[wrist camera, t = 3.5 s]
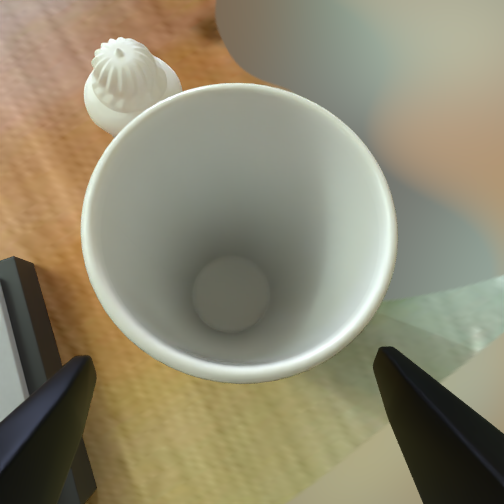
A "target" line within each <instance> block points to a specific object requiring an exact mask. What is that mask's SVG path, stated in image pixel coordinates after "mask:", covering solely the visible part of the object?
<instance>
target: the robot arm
mask: <svg viewBox="0 0 504 504" xmlns="http://www.w3.org/2000/svg"><path fill="white" fill-rule="evenodd" d="M373 370H374V374H375V377H376V380H377V384H378V387H379V390H380V394H381V397H382V400H383V404H384V407H385V410H386V413H387V416H388V419H389V422H390V424H391V427H392V429H393V431H394V434H395V436H396V439H397V441H398V444H399V446H400V448H401V451H402V453H403V455H404V458H405V460H406V463H407V465H408V468H409V470H410V473H411V475H412V477H413V480H414V482H415V485H416V487H417V489H418V492H419V494H420V497H421V499H422V502H423V504H504V434H503V433H502V432H500V430H498V429H497V428H496V427H494V426H493V425H492V424H491V423H489V422H488V421H487V420H486V419H484V418H483V417H482V416H481V415H479V414H478V413H477V412H475V411H474V410H473V409H472V408H470V407H469V406H468V405H466V404H465V403H464V402H463V401H461V400H460V399H459V398H458V397H456V396H455V395H454V394H452V393H451V392H450V391H449V390H447V389H446V388H445V387H444V386H442V385H441V384H440V383H439V382H437V381H436V380H435V379H434V378H432V377H431V376H430V375H428V374H427V373H426V372H425V371H423V370H422V369H421V368H420V367H418V366H417V365H416V364H414V363H413V362H412V361H411V360H409V359H408V358H407V357H406V356H404V355H403V354H402V353H401V352H399V351H398V350H397V349H395V348H394V347H390V346H389V347H380V348H379V349H378V352H377V355H376V358H375V360H374V363H373ZM95 383H96V371H95V367H94V364H93V361H92V358H91V357H90V356H88V355H83V356H75V357H73V358H72V359H71V360H70V361H69V362H67V363H66V364H65V365H64V366H63V367H62V368H61V369H60V370H58V371H57V372H56V373H55V374H54V375H53V376H52V377H51V378H49V379H48V380H47V381H46V382H45V383H44V384H43V385H41V386H40V387H39V388H38V389H37V390H36V391H35V392H34V393H32V394H31V395H30V396H29V397H28V398H27V399H26V400H25V401H23V402H22V403H21V404H20V405H19V406H18V407H17V408H15V409H14V410H13V411H12V412H11V413H10V414H9V415H8V416H6V417H5V418H4V419H3V420H2V421H1V422H0V504H57V503H58V500H59V497H60V494H61V492H62V489H63V486H64V484H65V481H66V478H67V475H68V473H69V470H70V467H71V464H72V462H73V459H74V456H75V454H76V451H77V448H78V445H79V443H80V440H81V437H82V434H83V430H84V427H85V423H86V419H87V415H88V411H89V407H90V403H91V399H92V395H93V391H94V387H95Z"/></svg>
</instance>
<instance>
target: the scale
mask: <svg viewBox="0 0 504 504" xmlns="http://www.w3.org/2000/svg"><path fill="white" fill-rule="evenodd" d="M61 368H62V363H61V360H60V356H59V353H58V349H57V346H56V342H55V338H54V335H53V331H52V328H51V324H50V321H49V317H48V314H47V310H46V307H45V303H44V299H43V296H42V292H41V289H40V285H39V282H38V278H37V275H36V271H35V268H34V264H33V263H31V262H28V261H25V260H23V259H20V258H17V257H15V256H13V257H10V258H7V259H4V260H1V261H0V422H1V421H2V420H3V419H4V418H5V417H6V416H8V415H9V414H10V413H11V412H12V411H13V410H14V409H15V408H17V407H18V406H19V405H20V404H21V403H22V402H23V401H25V400H26V399H27V398H28V397H29V396H30V395H31V394H32V393H34V392H35V391H36V390H37V389H38V388H39V387H40V386H41V385H43V384H44V383H45V382H46V381H47V380H48V379H49V378H51V377H52V376H53V375H54V374H55V373H56V372H57V371H58V370H60V369H61ZM96 489H97V487H96V484H95V480H94V477H93V473H92V469H91V466H90V462H89V459H88V455H87V452H86V448H85V445H84V441H83V438H82V437H81V440H80V443H79V445H78V448H77V451H76V454H75V456H74V459H73V462H72V464H71V467H70V470H69V473H68V475H67V478H66V481H65V484H64V486H63V489H62V492H61V494H60V497H59V500H58V503H57V504H84V503H85V502H86V501H87V500H88V498H89V497H90V496H91V495H92V494H93V492H94V491H95V490H96Z"/></svg>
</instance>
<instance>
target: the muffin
mask: <svg viewBox="0 0 504 504" xmlns="http://www.w3.org/2000/svg"><path fill="white" fill-rule="evenodd" d="M94 54H95V57H94V58H93V60H92V62H91V64H92V66H93V67H94V70H93V71H92V72H91V74H90V76H89V77H88V79H87V82H86V84H85V88H84V100H85V105H86V109H87V111H88V113H89V115H90V117H91V119H92V120H93V121H94V123H95V124H96V125H98V126H99V127H100V128H101V129H103V130H104V131H106V132H107V133H109V134H111V135H113V137H114V138H115V137H116V136H117V135H118V134H119V133H120V131H121V130H122V129H123V128H124V127H125V126H126V125H128V124H129V123H130V122H131V121H132V120H133V119H134V118H135V117H137V116H138V115H140V114H141V113H142V112H144V111H145V110H146V109H148V108H150V107H151V106H153V105H155V104H156V103H158V102H160V101H162V100H164V99H166V98H168V97H170V96H173V95H176V94H178V93H181V92H182V87H181V83H180V80H179V78H178V76H177V75H176V73H175V72H174V71H173V70H172V68H171V67H170V66H168V65H167V64H166V63H165V62H163V61H162V60H160V59H159V58H157V57H155V56H153V55H152V54H151V53H150V52H149V50H148V48H147V47H146V46H144V45H143V44H141V43H139V42H137V41H135V40H133V39H130V38H129V39H124V38H122V37H119V38H118V39H117V40H113V39H110V40H109V42H108V43H102V44H101V49H97V50H96V51H95V53H94Z"/></svg>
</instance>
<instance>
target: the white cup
mask: <svg viewBox="0 0 504 504" xmlns="http://www.w3.org/2000/svg"><path fill="white" fill-rule="evenodd" d="M81 243H82V252H83V257H84V262H85V267H86V270H87V273H88V276H89V279H90V282H91V284H92V287H93V289H94V291H95V293H96V296H97V298H98V299H99V301H100V303H101V304H102V306H103V308H104V310H105V311H106V313H107V314H108V315H109V317H110V318H111V319H112V321H113V322H114V323H115V325H116V326H117V327H118V328H119V329H120V330H121V331H122V332H123V333H124V334H125V336H126V337H127V338H128V339H130V340H131V341H132V342H133V343H134V344H135V345H137V346H138V347H139V348H140V349H141V350H143V351H144V352H146V353H147V354H148V355H150V356H151V357H153V358H154V359H156V360H158V361H160V362H161V363H163V364H165V365H167V366H169V367H171V368H173V369H175V370H178V371H180V372H183V373H185V374H188V375H191V376H194V377H198V378H201V379H205V380H210V381H216V382H221V383H234V384H251V383H263V382H270V381H276V380H280V379H284V378H288V377H291V376H294V375H297V374H300V373H303V372H305V371H308V370H310V369H312V368H314V367H316V366H318V365H320V364H322V363H324V362H325V361H327V360H328V359H330V358H332V357H333V356H335V355H336V354H337V353H339V352H340V351H341V350H342V349H344V348H345V347H346V346H348V345H349V344H350V343H351V342H352V341H353V340H354V339H355V338H356V337H357V336H358V335H359V334H360V333H361V332H362V330H363V329H364V328H365V327H366V326H367V324H368V323H369V322H370V321H371V319H372V318H373V316H374V314H375V313H376V311H377V310H378V308H379V306H380V305H381V303H382V301H383V299H384V297H385V294H386V292H387V290H388V287H389V285H390V282H391V279H392V275H393V271H394V267H395V262H396V256H397V244H398V227H397V218H396V211H395V206H394V202H393V198H392V195H391V192H390V189H389V186H388V183H387V181H386V179H385V176H384V174H383V172H382V170H381V168H380V167H379V165H378V163H377V161H376V159H375V158H374V156H373V155H372V153H371V152H370V150H369V149H368V148H367V147H366V145H365V144H364V143H363V142H362V141H361V139H360V138H359V137H358V136H357V135H356V134H355V133H354V132H353V131H352V130H351V129H350V128H349V127H348V126H347V125H346V124H345V123H344V122H342V121H341V120H340V119H339V118H337V117H336V116H335V115H333V114H332V113H331V112H329V111H328V110H326V109H324V108H323V107H321V106H319V105H318V104H316V103H314V102H312V101H310V100H308V99H306V98H304V97H301V96H299V95H296V94H294V93H291V92H288V91H285V90H282V89H278V88H274V87H269V86H264V85H257V84H247V83H223V84H214V85H208V86H202V87H197V88H194V89H190V90H187V91H183V92H181V93H178V94H176V95H173V96H170V97H168V98H166V99H164V100H162V101H160V102H158V103H156V104H155V105H153V106H151V107H150V108H148V109H146V110H145V111H144V112H142V113H141V114H140V115H138V116H137V117H135V118H134V119H133V120H132V121H131V122H130V123H129V124H128V125H126V126H125V127H124V128H123V129H122V130H121V131H120V133H119V134H118V135H117V136H116V137H115V138H114V139H113V141H112V142H111V143H110V144H109V146H108V147H107V148H106V150H105V151H104V153H103V155H102V156H101V158H100V160H99V161H98V163H97V165H96V167H95V169H94V171H93V173H92V176H91V179H90V181H89V184H88V187H87V190H86V194H85V198H84V202H83V209H82V216H81Z"/></svg>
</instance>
